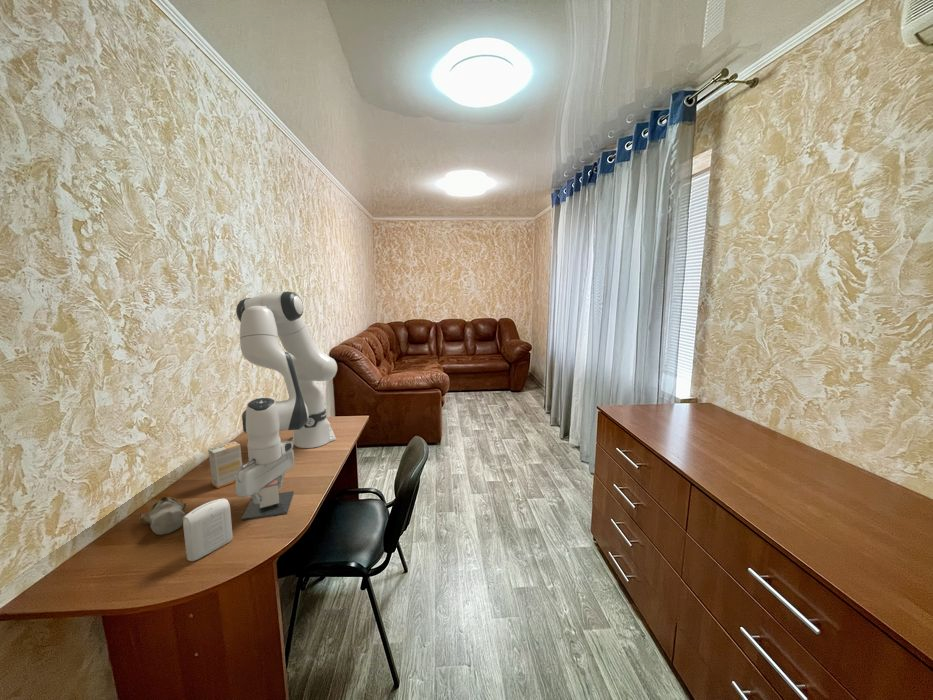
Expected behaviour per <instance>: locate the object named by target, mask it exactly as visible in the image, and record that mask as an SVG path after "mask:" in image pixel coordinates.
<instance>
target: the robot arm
mask: <svg viewBox="0 0 933 700" xmlns="http://www.w3.org/2000/svg"><path fill="white" fill-rule="evenodd" d="M235 312H236V313H235V314H236V316H237V319H238V320H239V322H240V324H239V325H240V326H239V345H240V350H241V351H240V352H241V355H242V357H243V358H244V359H245V360H246V361H247V362H249V363H250V364H253V365H255V366H259V367H261V368H265V369H266V368H267V369H270V370H274V371H275V372H278V373H280V374H281V376H282V377H283V380H284V382H285V386H286V389H287V394H288V398H287V399H286V400H279V401H275V399H272V398H269V397H259V398H255V399H252V400H251V401H249V402H248V403H247V405H246V409H245V410H244V411H243V412H242V414H241V422H242V431H243V432H244V433H245V434H246V435H247V437H248V438H247V440H248V441H247V444H246V445H247V454H248V455H247V456H248V462H246V463H243V464H242V466H241V467H240V469H239V470H238V472H237V476H236V482H235V495H236V496H237V497H238V498H239V497H240V498H245V499H247V498H250V497H251V499H252V498H253V503H254V504H259V503H260V502H261V501H262V496H259V495H258V493H259V490H260V489H261V488H263V487H264V486H266V485H267V484H268V483H270V482H271V481H273V480H274V479H276V478H277V482H278V490H279V489H281V488H282V487H283V481H284V478H285V475H286V474H285V473H286V472H287V471H289V470H290V469H292V468H293V466H294V465H295V453H294V449H293V448H294V446H295V447H297V448H302V449H312V448H317V447H321V446H324V445H326V444H328V443H330V442H334V441H335V440H336V439H337V437H336V435H335V433H334V431H333V428H332V427H331V423H330V422H329V420H328V418H327V409H326V407H325V393H324V390H323V389H321V388H320V387H319V386H318V385H317V383H316V382H326V381H331V380H333V379H334V378H335V377H336V375H337V372H338V364H337V361H336V360H335V358H333V357H331V356H329V355H328V354H326V353H325V352H324V351H323V349H321V348H320V347H319V346H318V345H317V343H316V342H315V341H314V339H313V336H312V335H311V333H310V331H309V329H308V326H307V324H306V322H305V319H304V317H303V313H304V305H303V301H302V299H301V297H300V296H299V294H297V293H296V292H293V291H283V292H273V293H271V292H270V293H265V294H262V295H256V296H253V297H245V298H243V299H241V300H240V301H238V304H237V305H236V309H235ZM279 341H280V342H281V345H282V347H283V348H282V347H281V345H280V342H279ZM283 349H284V350H285V351H284V350H283ZM282 431H292V432H293V434H292V436H293V437H292V438H291V439H290V440H282V439H281V438H282V437H280V432H282Z"/></svg>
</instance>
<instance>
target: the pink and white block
mask: <svg viewBox="0 0 933 700" xmlns="http://www.w3.org/2000/svg"><path fill="white" fill-rule="evenodd" d="M279 493H280V492H279V489H278V482H277V478H276V479H274V480H273V481H271V482H270V483H268V484H267V485H266V486H264V487H263V488H261V489H260V490H259V493H258V494H257V495H258V496H262V501H261V502H260V503H259V504H260V508H262V507H266V506H270V505H274V504H277V503H279Z"/></svg>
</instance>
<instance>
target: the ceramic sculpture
mask: <svg viewBox="0 0 933 700" xmlns="http://www.w3.org/2000/svg"><path fill="white" fill-rule="evenodd" d="M186 507H187V502H184V501H182V500H180V501H179V502H178V500H177V499H176V498H174V497H169V496H168V497H167V496H164V497H162V498H161V499H159V500H156V501H154V503H152V505H151V506H150V507H149V510H148V512H146V513H144V512H143V513H140V514H139V517H138V519H139V520H138V521H139V522H141V523H142V524H146V525H148V524H149V525H150V529H151V530H152V532H153V533H155V534H156V535H161V536H162V535H166V534H168V535H169V534H171V533H173V532H175V531H177V530H178V529H179V528H181V527H183V518H184V516H186V515H187V514H186V512H184V511H185V509H186Z"/></svg>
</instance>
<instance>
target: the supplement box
mask: <svg viewBox="0 0 933 700" xmlns="http://www.w3.org/2000/svg"><path fill="white" fill-rule="evenodd" d="M208 457H209V467H210V473H211V474H210V475H211V484H212V485H213V486H214V487H215V488H217V489H221V488H224V487H226V486H229V485H231V484H233V483H236V476H237V472H238V470H239V469H240V467H241V466H242V465H243V460H242V451H241V444H240V443H238V442H236V441H231V442H227V443H224V444H221V445H218V446H214V447H211V448H208Z"/></svg>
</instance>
